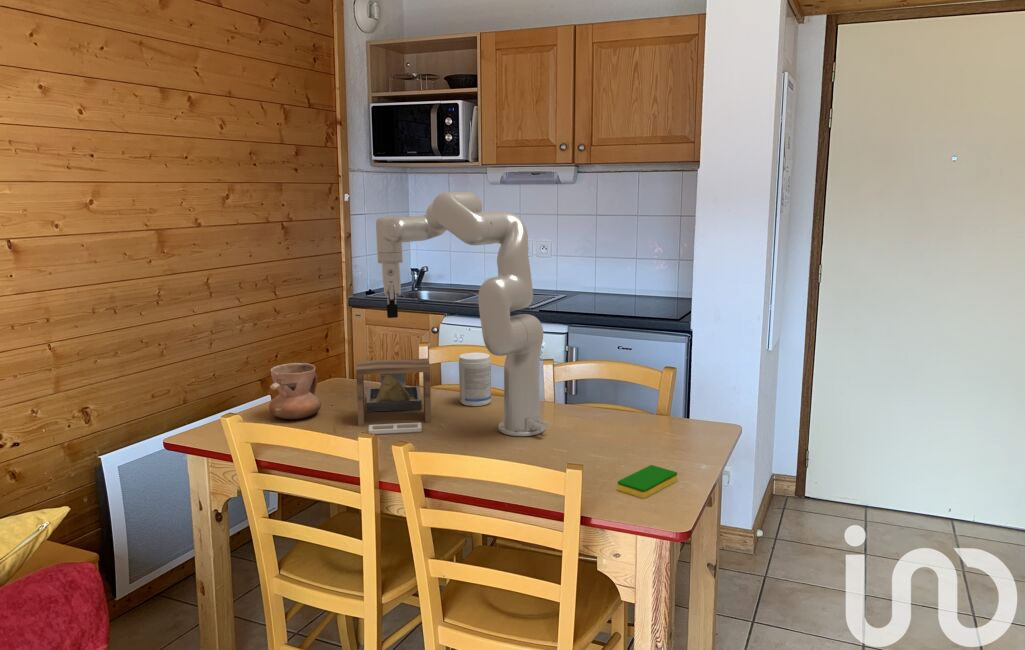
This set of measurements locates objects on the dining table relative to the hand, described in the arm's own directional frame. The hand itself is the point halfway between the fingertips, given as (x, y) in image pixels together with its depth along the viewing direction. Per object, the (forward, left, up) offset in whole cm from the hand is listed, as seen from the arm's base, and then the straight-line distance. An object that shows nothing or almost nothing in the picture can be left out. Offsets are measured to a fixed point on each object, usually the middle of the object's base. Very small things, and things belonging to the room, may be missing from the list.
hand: (392, 317), depth 240 cm
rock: (-12, +8, -25) cm, 29 cm away
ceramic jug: (+3, +32, -25) cm, 41 cm away
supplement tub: (-24, -13, -25) cm, 37 cm away
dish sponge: (-99, +2, -26) cm, 102 cm away
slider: (-4, +3, -25) cm, 25 cm away
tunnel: (-20, +14, -25) cm, 35 cm away
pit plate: (-29, +20, -25) cm, 43 cm away
